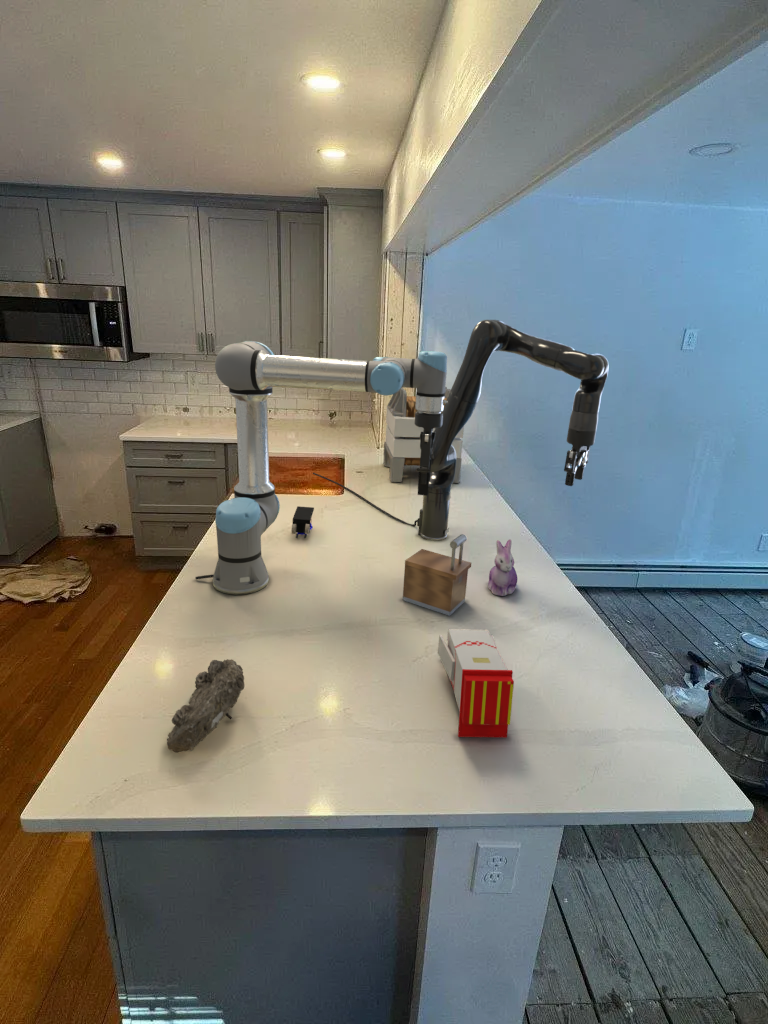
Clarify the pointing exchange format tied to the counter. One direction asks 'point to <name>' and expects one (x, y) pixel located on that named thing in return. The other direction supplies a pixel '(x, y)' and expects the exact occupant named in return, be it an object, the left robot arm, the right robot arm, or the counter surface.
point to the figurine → (503, 571)
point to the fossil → (206, 705)
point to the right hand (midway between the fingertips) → (573, 482)
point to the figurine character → (302, 521)
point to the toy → (478, 682)
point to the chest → (434, 590)
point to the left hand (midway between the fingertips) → (423, 487)
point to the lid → (441, 560)
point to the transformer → (409, 436)
